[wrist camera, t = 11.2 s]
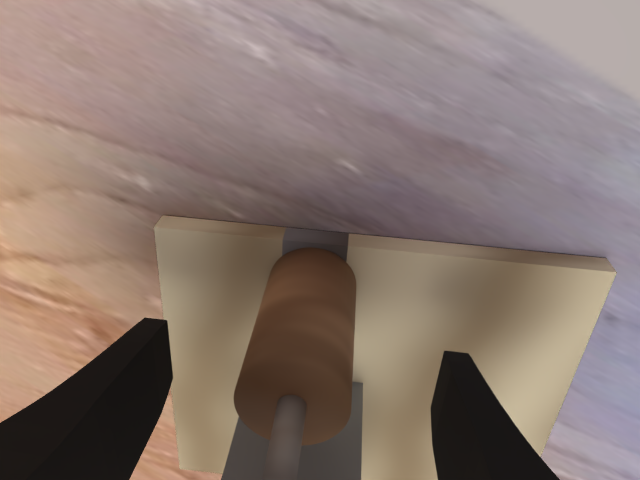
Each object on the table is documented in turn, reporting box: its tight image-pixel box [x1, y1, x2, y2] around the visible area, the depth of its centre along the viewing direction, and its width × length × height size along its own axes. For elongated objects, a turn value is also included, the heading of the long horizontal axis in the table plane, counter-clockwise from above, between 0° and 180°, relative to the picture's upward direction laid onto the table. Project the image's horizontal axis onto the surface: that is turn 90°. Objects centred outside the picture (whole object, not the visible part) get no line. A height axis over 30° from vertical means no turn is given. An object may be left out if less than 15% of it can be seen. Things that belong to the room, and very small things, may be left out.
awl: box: [234, 247, 357, 480], centre depth 14 cm, size 3×3×7 cm
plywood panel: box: [154, 215, 617, 480], centre depth 19 cm, size 14×12×1 cm
